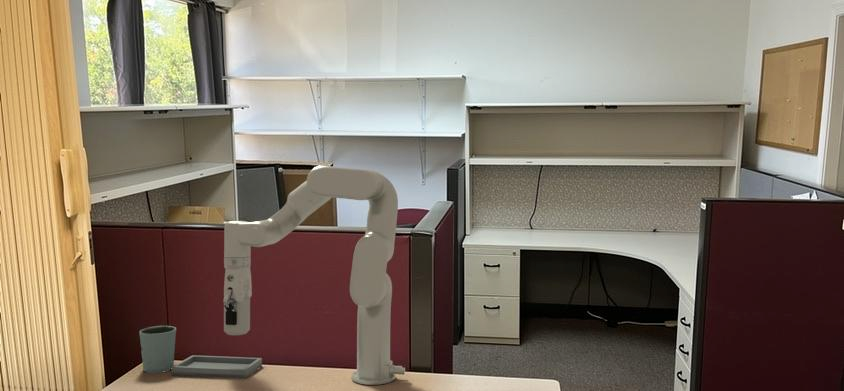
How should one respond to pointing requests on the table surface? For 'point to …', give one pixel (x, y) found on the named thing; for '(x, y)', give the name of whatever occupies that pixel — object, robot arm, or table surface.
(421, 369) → the table surface
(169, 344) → the green cup
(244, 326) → the can
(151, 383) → the table surface
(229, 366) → the tray
